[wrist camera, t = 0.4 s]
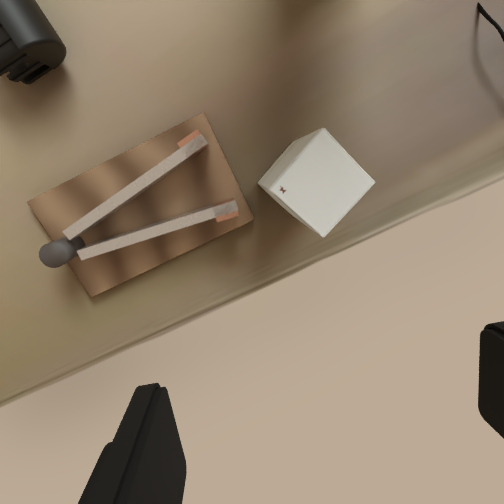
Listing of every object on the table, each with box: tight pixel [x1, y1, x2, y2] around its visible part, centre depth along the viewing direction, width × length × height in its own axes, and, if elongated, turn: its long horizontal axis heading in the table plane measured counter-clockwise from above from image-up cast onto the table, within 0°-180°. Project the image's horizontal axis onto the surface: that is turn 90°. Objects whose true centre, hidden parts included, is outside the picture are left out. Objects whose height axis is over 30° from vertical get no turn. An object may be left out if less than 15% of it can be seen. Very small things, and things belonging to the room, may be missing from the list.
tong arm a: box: [62, 129, 209, 240], centre depth 36 cm, size 19×2×4 cm, turn 123°
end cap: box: [0, 0, 66, 84], centre depth 32 cm, size 10×7×7 cm
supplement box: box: [258, 128, 375, 238], centre depth 35 cm, size 7×7×13 cm
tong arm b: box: [77, 197, 239, 260], centre depth 38 cm, size 19×2×4 cm, turn 107°
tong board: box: [27, 112, 254, 297], centre depth 38 cm, size 24×14×6 cm, turn 115°
